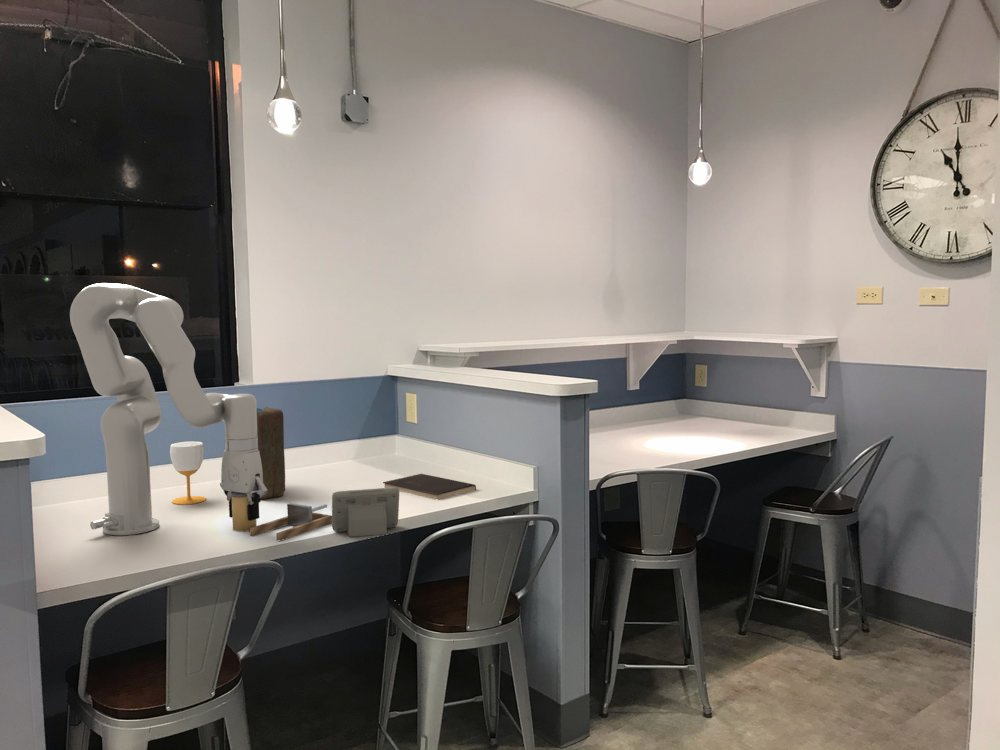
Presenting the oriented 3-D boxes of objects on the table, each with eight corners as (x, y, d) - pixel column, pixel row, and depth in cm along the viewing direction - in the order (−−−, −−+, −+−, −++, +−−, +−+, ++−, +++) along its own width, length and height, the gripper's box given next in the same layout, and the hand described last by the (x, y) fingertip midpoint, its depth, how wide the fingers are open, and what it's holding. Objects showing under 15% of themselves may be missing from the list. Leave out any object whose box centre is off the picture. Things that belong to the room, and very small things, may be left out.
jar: (243, 532, 196) (242, 495, 195) (227, 529, 199) (225, 493, 198) (262, 526, 201) (260, 490, 200) (245, 523, 204) (244, 488, 203)
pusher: (308, 527, 199) (308, 507, 198) (287, 523, 202) (287, 504, 202) (337, 517, 208) (336, 498, 207) (316, 514, 211) (315, 495, 211)
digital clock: (400, 525, 201) (399, 483, 201) (399, 536, 193) (398, 491, 192) (334, 527, 200) (333, 485, 199) (329, 538, 191) (328, 493, 190)
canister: (288, 496, 232) (285, 409, 230) (260, 501, 226) (257, 412, 224) (260, 485, 246) (257, 403, 244) (233, 490, 241) (230, 406, 238)
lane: (279, 541, 189) (279, 533, 189) (250, 535, 194) (249, 528, 193) (332, 522, 204) (332, 515, 204) (303, 517, 209) (303, 510, 209)
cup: (191, 505, 222) (189, 447, 221) (164, 503, 225) (161, 446, 224) (213, 498, 231) (211, 442, 229) (186, 495, 234) (184, 440, 232)
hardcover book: (436, 502, 227) (436, 494, 227) (383, 489, 242) (382, 482, 242) (476, 491, 239) (476, 484, 238) (422, 480, 254) (422, 473, 254)
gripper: (205, 444, 199) (207, 516, 201) (255, 450, 191) (257, 526, 192) (229, 439, 206) (231, 510, 207) (278, 445, 197) (281, 518, 199)
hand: (244, 517), depth 200 cm, fingers closed on jar, 5 cm apart
